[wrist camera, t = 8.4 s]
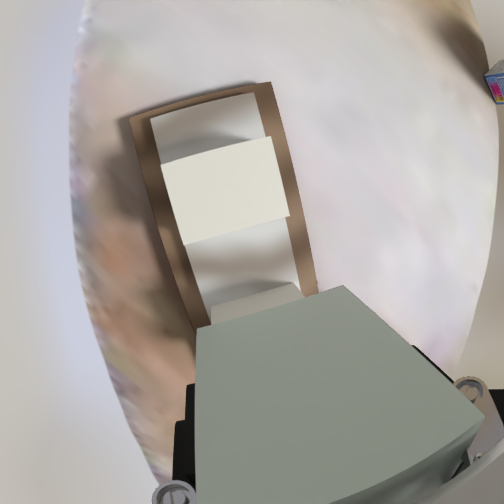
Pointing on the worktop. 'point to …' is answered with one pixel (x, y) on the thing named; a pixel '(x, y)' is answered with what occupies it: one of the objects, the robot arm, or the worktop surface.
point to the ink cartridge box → (496, 81)
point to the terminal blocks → (230, 206)
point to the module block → (322, 409)
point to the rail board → (237, 242)
